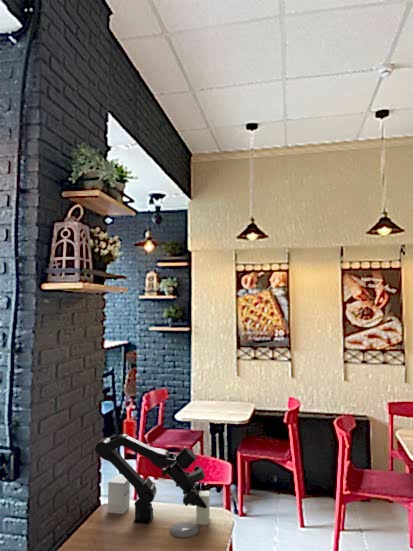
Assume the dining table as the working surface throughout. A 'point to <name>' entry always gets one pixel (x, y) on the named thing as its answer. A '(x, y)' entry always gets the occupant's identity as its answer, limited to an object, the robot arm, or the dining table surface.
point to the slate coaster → (184, 529)
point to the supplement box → (118, 495)
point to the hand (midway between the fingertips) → (206, 504)
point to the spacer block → (203, 509)
